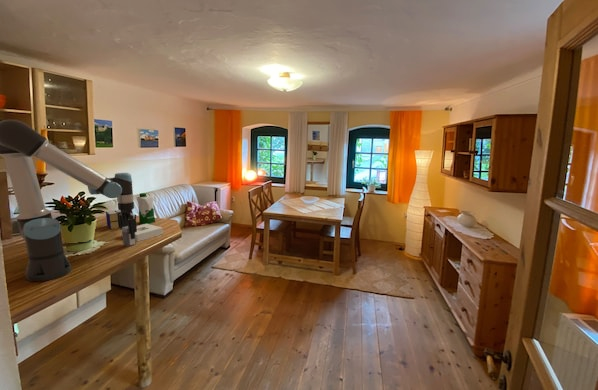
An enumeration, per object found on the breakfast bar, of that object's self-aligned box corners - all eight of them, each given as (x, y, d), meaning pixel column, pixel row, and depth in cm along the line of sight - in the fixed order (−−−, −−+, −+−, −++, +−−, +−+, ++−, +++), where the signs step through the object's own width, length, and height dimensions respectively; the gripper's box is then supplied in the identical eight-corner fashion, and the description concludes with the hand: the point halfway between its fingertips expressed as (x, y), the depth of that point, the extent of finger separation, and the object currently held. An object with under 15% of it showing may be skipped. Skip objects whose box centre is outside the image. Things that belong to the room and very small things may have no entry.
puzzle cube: (107, 226, 198) (105, 211, 196) (124, 223, 204) (122, 209, 202) (110, 229, 190) (108, 214, 188) (128, 226, 197) (126, 211, 195)
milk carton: (148, 220, 212) (146, 192, 208) (157, 221, 209) (155, 193, 205) (137, 223, 204) (134, 194, 201) (146, 225, 201) (144, 195, 197)
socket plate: (137, 241, 170) (136, 233, 169) (121, 236, 178) (121, 228, 177) (162, 234, 184) (162, 226, 183) (147, 229, 192) (146, 222, 191)
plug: (128, 246, 162) (126, 228, 160) (123, 245, 165) (121, 227, 163) (136, 244, 166) (134, 226, 164) (131, 242, 168) (129, 225, 166)
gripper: (142, 202, 159) (145, 244, 164) (123, 198, 168) (127, 238, 173) (128, 205, 153) (132, 248, 158) (109, 201, 162) (114, 242, 166)
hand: (129, 243), depth 165 cm, fingers closed on plug, 4 cm apart
